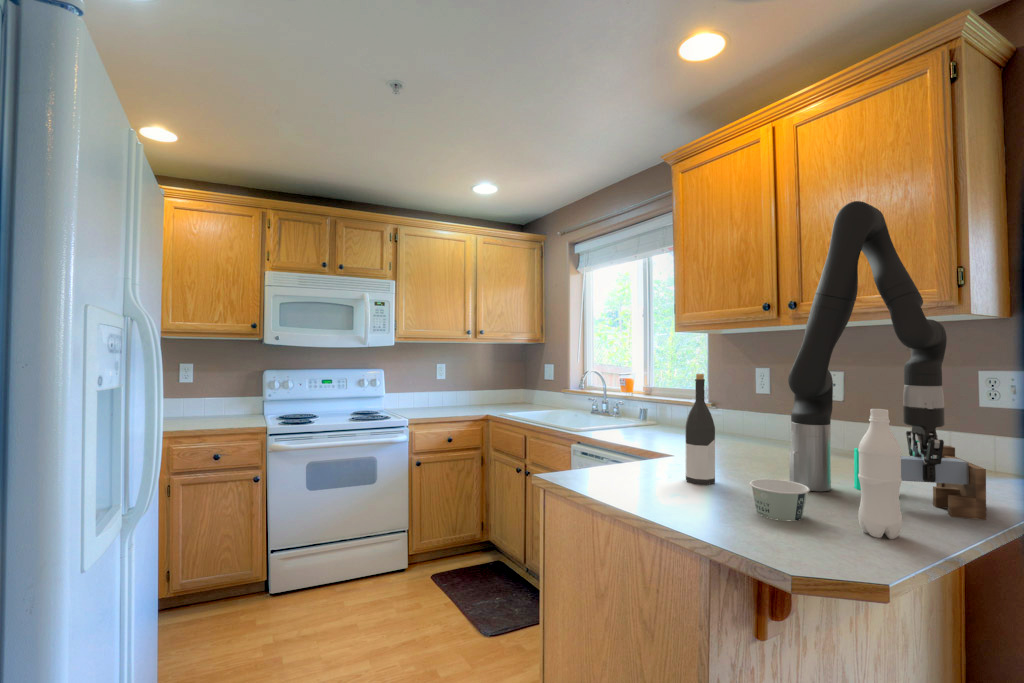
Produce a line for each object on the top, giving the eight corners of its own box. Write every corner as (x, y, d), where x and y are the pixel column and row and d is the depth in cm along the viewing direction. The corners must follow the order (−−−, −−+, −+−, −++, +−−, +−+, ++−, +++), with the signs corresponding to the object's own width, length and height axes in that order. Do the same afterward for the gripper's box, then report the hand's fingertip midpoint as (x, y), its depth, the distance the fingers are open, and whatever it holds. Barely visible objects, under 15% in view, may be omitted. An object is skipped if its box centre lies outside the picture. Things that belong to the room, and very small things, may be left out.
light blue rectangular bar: (893, 480, 123) (892, 458, 123) (887, 476, 127) (886, 455, 127) (969, 484, 118) (968, 462, 118) (960, 480, 122) (959, 458, 122)
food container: (737, 510, 122) (737, 481, 122) (775, 504, 127) (775, 476, 127) (783, 526, 111) (782, 495, 111) (822, 519, 116) (822, 489, 116)
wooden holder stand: (951, 516, 117) (950, 458, 117) (917, 495, 134) (917, 444, 134) (989, 520, 115) (988, 460, 115) (949, 497, 132) (949, 445, 132)
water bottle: (903, 543, 101) (903, 412, 101) (858, 536, 105) (858, 410, 105) (900, 532, 107) (899, 408, 107) (858, 526, 111) (857, 406, 111)
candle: (878, 487, 142) (878, 442, 142) (883, 493, 136) (883, 446, 136) (852, 485, 144) (852, 441, 144) (856, 490, 139) (855, 444, 139)
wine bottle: (690, 476, 153) (689, 372, 153) (719, 480, 148) (718, 373, 149) (680, 482, 147) (680, 374, 147) (711, 487, 142) (710, 374, 142)
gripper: (892, 401, 131) (893, 471, 130) (917, 407, 117) (918, 485, 117) (928, 402, 129) (930, 473, 128) (958, 408, 115) (959, 488, 115)
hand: (924, 478), depth 123 cm, fingers closed on light blue rectangular bar, 4 cm apart
